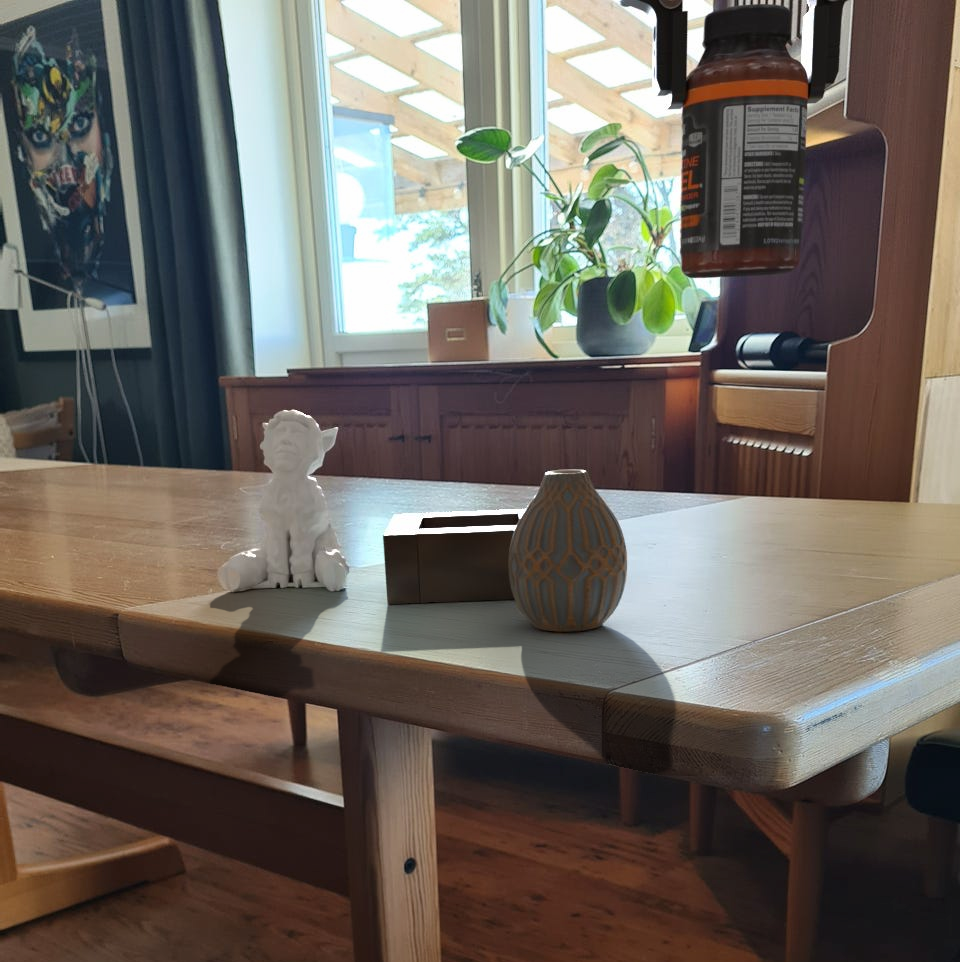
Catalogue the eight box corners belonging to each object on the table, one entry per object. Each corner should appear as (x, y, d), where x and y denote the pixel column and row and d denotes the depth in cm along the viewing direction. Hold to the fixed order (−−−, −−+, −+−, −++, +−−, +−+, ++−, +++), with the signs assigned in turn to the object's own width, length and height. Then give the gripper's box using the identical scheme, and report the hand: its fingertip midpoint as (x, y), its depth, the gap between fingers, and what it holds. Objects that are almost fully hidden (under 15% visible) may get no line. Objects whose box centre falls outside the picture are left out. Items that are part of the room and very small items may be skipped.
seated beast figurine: (215, 593, 91) (195, 416, 87) (254, 573, 99) (237, 409, 95) (344, 591, 90) (330, 411, 85) (373, 571, 98) (361, 405, 93)
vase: (550, 610, 80) (547, 465, 77) (648, 619, 77) (649, 466, 73) (487, 631, 75) (481, 476, 72) (588, 641, 71) (586, 478, 68)
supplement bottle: (666, 281, 67) (669, 29, 63) (777, 277, 67) (787, 26, 63) (697, 274, 61) (702, -3, 57) (817, 270, 62) (831, -6, 58)
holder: (548, 570, 95) (547, 508, 93) (556, 597, 84) (555, 528, 83) (397, 576, 95) (393, 514, 93) (387, 604, 85) (382, 535, 83)
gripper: (599, -378, 52) (602, 96, 58) (954, -395, 52) (919, 82, 58) (584, -291, 59) (588, 124, 65) (897, -307, 59) (871, 111, 65)
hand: (744, 102), depth 62 cm, fingers closed on supplement bottle, 6 cm apart
